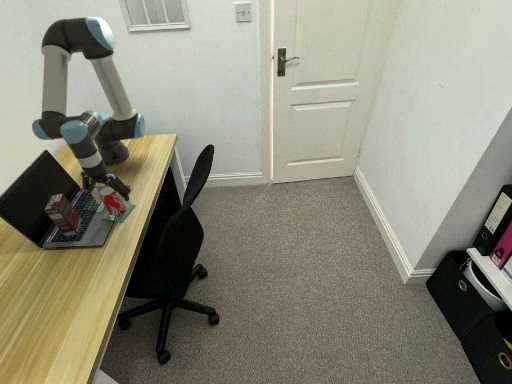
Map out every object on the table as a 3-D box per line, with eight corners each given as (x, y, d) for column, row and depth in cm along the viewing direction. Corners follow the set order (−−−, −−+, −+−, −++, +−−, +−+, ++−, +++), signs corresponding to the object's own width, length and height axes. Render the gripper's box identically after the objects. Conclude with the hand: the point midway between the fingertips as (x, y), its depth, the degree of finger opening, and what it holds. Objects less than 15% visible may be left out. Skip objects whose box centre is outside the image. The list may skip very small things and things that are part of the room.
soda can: (121, 218, 117) (109, 197, 109) (106, 216, 118) (93, 195, 110) (130, 206, 122) (119, 185, 114) (115, 204, 123) (104, 183, 115)
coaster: (115, 202, 125) (115, 201, 125) (135, 205, 123) (135, 204, 123) (102, 219, 118) (101, 218, 117) (122, 222, 116) (122, 221, 115)
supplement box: (71, 222, 117) (50, 195, 107) (83, 220, 118) (63, 192, 107) (65, 238, 111) (42, 210, 100) (78, 235, 112) (57, 208, 101)
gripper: (55, 165, 102) (83, 206, 117) (115, 172, 97) (136, 214, 112) (70, 153, 108) (94, 193, 122) (127, 159, 103) (145, 201, 117)
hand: (114, 203), depth 117 cm, fingers open, 13 cm apart
